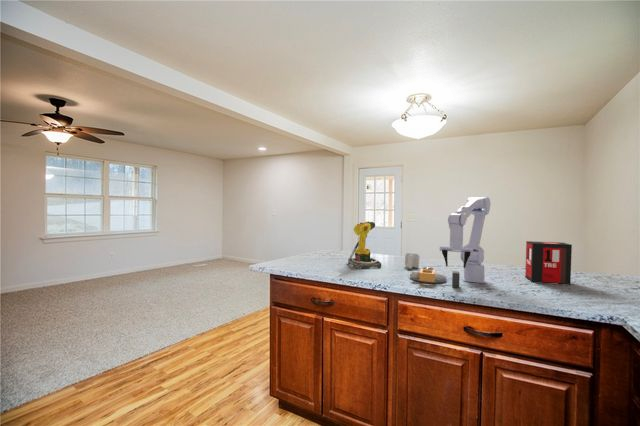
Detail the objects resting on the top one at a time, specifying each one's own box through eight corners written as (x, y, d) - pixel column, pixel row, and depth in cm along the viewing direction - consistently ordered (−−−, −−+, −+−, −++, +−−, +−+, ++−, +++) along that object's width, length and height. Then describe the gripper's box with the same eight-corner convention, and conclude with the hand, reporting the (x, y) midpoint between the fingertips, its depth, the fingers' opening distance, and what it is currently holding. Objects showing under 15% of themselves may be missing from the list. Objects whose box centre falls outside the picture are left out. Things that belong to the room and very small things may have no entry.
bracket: (434, 277, 155) (435, 270, 155) (434, 282, 147) (434, 273, 147) (412, 275, 159) (412, 268, 159) (410, 279, 151) (411, 271, 151)
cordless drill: (384, 268, 185) (385, 223, 185) (354, 269, 182) (355, 223, 181) (373, 262, 204) (374, 221, 203) (346, 263, 200) (346, 221, 199)
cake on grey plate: (446, 276, 164) (446, 265, 163) (446, 285, 147) (446, 272, 147) (411, 273, 171) (412, 263, 170) (408, 281, 154) (408, 269, 154)
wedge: (458, 285, 146) (459, 271, 146) (459, 288, 142) (459, 273, 142) (452, 285, 147) (452, 270, 147) (452, 287, 143) (452, 272, 143)
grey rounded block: (402, 268, 181) (403, 251, 183) (405, 269, 190) (406, 253, 192) (415, 270, 178) (416, 253, 179) (418, 270, 187) (419, 254, 188)
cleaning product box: (531, 282, 154) (532, 243, 153) (525, 278, 162) (526, 241, 162) (570, 285, 149) (571, 244, 148) (561, 280, 157) (563, 242, 157)
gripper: (439, 238, 143) (438, 266, 144) (473, 240, 138) (472, 269, 138) (440, 237, 150) (439, 264, 150) (472, 238, 144) (471, 267, 144)
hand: (455, 266), depth 144 cm, fingers open, 7 cm apart
